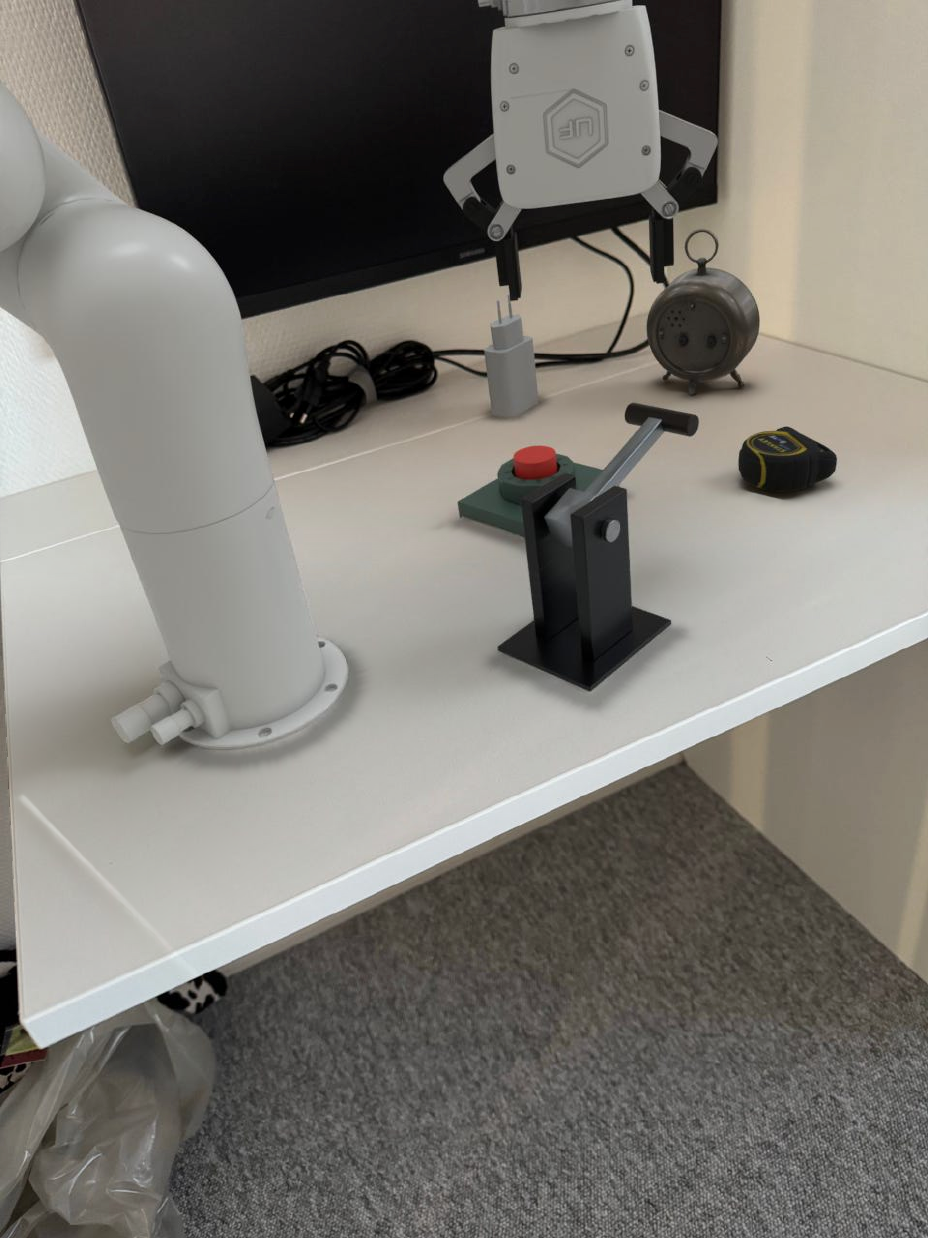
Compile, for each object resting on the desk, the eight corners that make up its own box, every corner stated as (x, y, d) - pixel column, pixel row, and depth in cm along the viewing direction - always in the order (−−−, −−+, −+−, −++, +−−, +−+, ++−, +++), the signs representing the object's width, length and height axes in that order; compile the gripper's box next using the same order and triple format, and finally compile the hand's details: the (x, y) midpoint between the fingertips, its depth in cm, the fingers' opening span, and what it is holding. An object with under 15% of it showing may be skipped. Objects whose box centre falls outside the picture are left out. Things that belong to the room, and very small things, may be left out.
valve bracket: (580, 600, 70) (568, 453, 64) (671, 634, 65) (669, 479, 59) (499, 660, 65) (477, 508, 59) (591, 702, 60) (578, 541, 54)
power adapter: (489, 415, 103) (475, 303, 96) (519, 397, 106) (507, 288, 99) (511, 419, 101) (499, 306, 94) (541, 400, 104) (531, 290, 98)
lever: (639, 419, 66) (632, 392, 64) (702, 432, 63) (695, 404, 61) (537, 537, 62) (526, 511, 60) (598, 558, 58) (589, 530, 57)
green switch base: (538, 550, 77) (533, 506, 75) (460, 523, 83) (454, 482, 81) (619, 496, 83) (617, 454, 81) (541, 474, 89) (537, 435, 87)
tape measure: (839, 487, 79) (842, 445, 77) (766, 508, 78) (768, 466, 76) (791, 458, 85) (793, 419, 83) (722, 477, 83) (723, 437, 81)
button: (538, 485, 79) (536, 466, 78) (506, 476, 81) (504, 457, 80) (565, 468, 81) (564, 450, 80) (534, 460, 83) (532, 442, 82)
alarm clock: (758, 382, 100) (765, 221, 91) (742, 401, 97) (746, 235, 88) (661, 375, 106) (658, 222, 97) (642, 393, 102) (637, 236, 93)
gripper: (413, 15, 53) (456, 317, 63) (727, -37, 51) (723, 286, 60) (428, 11, 60) (466, 287, 69) (709, -36, 57) (708, 257, 66)
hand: (586, 286), depth 65 cm, fingers open, 9 cm apart
